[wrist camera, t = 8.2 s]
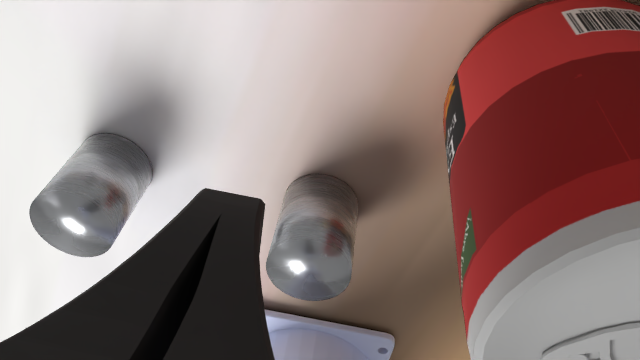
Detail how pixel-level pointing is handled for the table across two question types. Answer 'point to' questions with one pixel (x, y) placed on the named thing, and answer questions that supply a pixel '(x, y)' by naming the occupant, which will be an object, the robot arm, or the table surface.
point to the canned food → (549, 183)
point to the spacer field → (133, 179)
